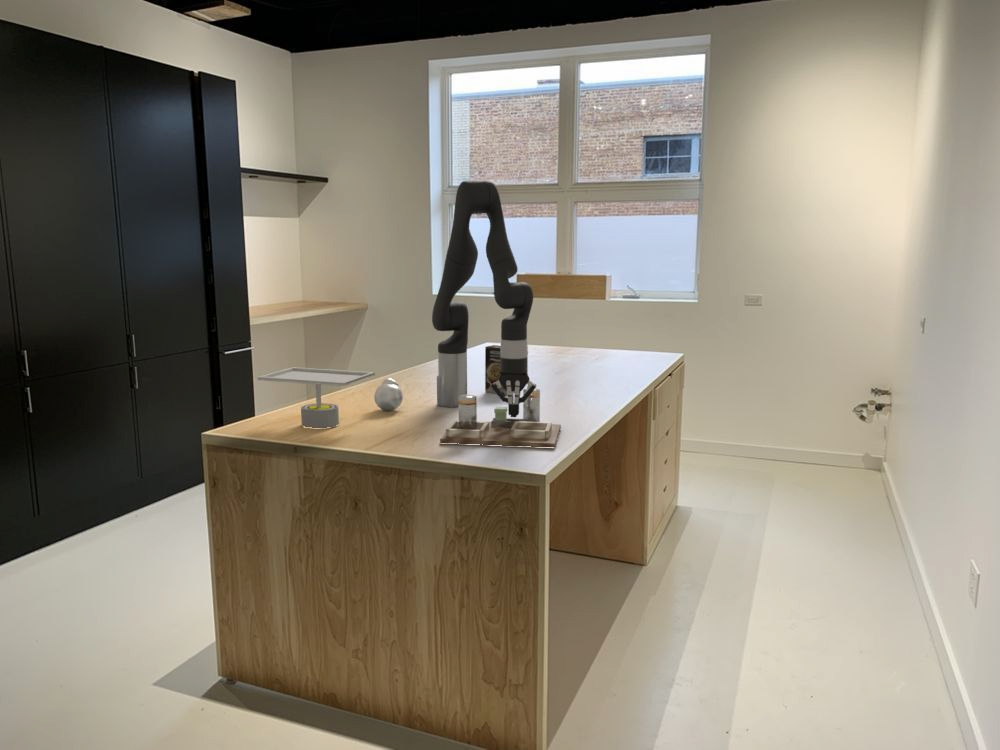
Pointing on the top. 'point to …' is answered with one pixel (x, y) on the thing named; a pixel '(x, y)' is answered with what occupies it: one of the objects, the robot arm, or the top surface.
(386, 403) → the grey rounded lump
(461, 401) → the seated billet
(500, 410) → the green notched block
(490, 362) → the coffee box
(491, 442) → the pallet
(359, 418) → the top surface
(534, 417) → the cylinder
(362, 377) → the solar panel model
